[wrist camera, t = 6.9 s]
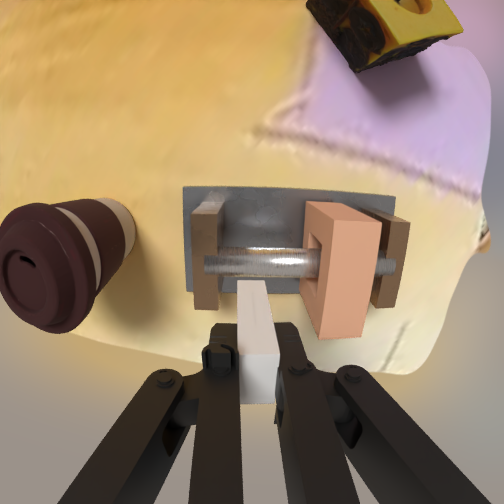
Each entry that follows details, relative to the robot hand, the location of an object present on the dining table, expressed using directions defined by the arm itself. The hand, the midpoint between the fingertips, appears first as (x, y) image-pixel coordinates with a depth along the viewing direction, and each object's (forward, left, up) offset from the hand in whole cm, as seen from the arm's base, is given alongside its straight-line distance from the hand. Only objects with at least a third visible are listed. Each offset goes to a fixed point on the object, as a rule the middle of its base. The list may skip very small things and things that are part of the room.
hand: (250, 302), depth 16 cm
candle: (+12, +25, -14) cm, 31 cm away
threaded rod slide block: (+5, 0, -14) cm, 15 cm away
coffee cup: (-15, +1, -14) cm, 21 cm away
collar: (+7, 0, -12) cm, 14 cm away
